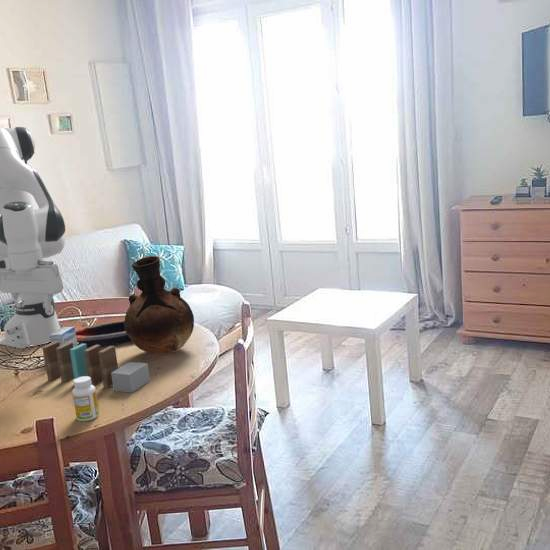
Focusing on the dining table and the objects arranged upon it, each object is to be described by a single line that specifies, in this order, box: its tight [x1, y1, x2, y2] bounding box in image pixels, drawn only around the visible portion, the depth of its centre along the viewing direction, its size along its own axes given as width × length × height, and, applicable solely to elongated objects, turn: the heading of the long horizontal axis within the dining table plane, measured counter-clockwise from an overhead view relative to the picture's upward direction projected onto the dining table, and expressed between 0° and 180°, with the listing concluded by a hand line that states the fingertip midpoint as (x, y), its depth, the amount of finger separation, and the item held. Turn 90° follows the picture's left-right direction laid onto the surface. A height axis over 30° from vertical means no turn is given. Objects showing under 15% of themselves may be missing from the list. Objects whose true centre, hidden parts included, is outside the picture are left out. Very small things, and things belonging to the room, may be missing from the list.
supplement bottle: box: [72, 376, 100, 422], centre depth 153 cm, size 5×5×10 cm
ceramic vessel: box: [123, 255, 195, 355], centre depth 193 cm, size 21×18×30 cm
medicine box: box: [50, 326, 77, 348], centre depth 199 cm, size 8×4×9 cm, turn 168°
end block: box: [111, 361, 151, 393], centre depth 170 cm, size 6×8×5 cm
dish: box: [75, 320, 132, 348], centre depth 212 cm, size 16×31×5 cm, turn 101°
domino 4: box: [84, 345, 103, 387], centre depth 175 cm, size 2×5×10 cm, turn 155°
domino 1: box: [41, 341, 61, 382], centre depth 181 cm, size 2×5×10 cm, turn 155°
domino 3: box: [70, 344, 88, 380], centre depth 177 cm, size 2×5×10 cm, turn 155°
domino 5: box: [98, 345, 119, 388], centre depth 173 cm, size 2×5×10 cm, turn 156°
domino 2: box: [56, 342, 74, 383], centre depth 179 cm, size 2×5×10 cm, turn 156°
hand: (34, 307), depth 180 cm, fingers open, 8 cm apart
